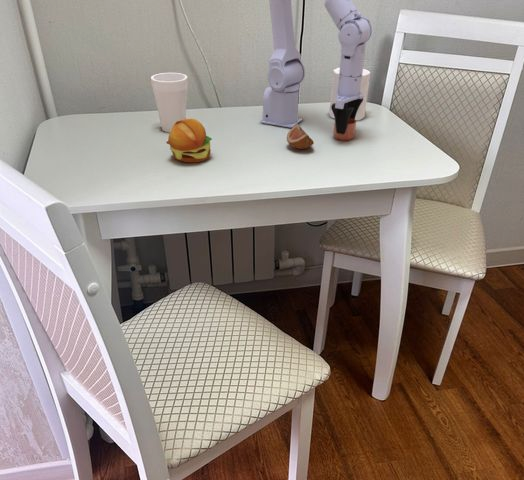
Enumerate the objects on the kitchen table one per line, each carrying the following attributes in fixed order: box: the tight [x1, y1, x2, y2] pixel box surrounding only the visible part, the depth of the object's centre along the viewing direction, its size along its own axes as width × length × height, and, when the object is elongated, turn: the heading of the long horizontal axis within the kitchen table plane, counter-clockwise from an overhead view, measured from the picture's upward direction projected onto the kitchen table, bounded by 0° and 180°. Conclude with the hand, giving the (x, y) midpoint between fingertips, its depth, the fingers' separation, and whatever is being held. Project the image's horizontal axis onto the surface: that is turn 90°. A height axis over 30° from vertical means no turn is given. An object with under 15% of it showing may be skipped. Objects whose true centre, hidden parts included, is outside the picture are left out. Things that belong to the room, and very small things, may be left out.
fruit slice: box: [286, 123, 315, 150], centre depth 138 cm, size 8×7×5 cm
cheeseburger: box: [165, 118, 213, 163], centre depth 131 cm, size 10×11×10 cm
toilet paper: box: [329, 67, 371, 121], centre depth 157 cm, size 10×10×12 cm
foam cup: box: [150, 72, 189, 133], centre depth 146 cm, size 10×9×13 cm
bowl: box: [333, 118, 357, 141], centre depth 145 cm, size 6×6×4 cm
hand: (344, 129), depth 145 cm, fingers closed on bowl, 5 cm apart
